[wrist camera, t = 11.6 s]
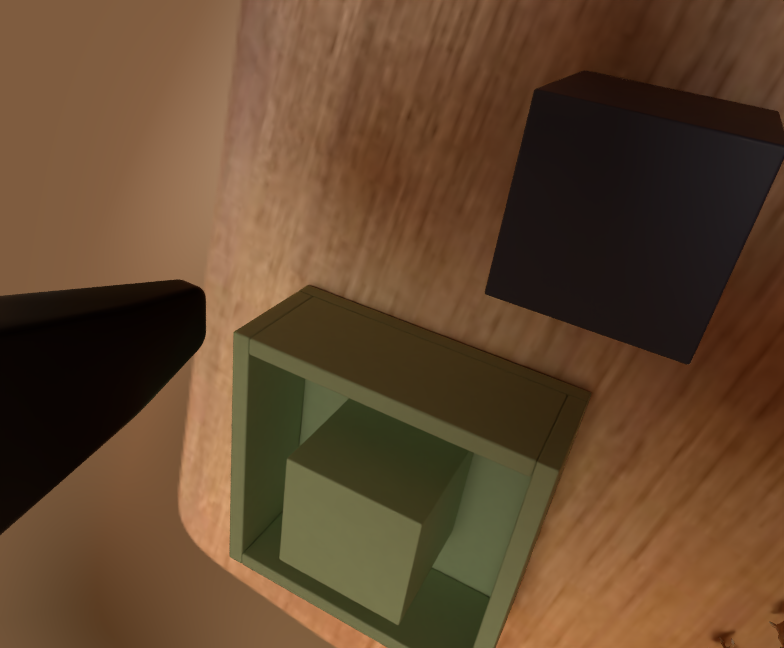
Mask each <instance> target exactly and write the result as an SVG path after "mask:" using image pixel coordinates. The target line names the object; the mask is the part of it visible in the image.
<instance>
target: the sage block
mask: <svg viewBox="0 0 784 648" xmlns="http://www.w3.org/2000/svg"><path fill="white" fill-rule="evenodd" d="M472 457H473V452H471V451H469V450H466V449H464V448H462V447H459V446H457V445H455V444H453V443H450V442H448V441H446V440H443V439H441V438H439V437H437V436H434V435H432V434H430V433H427V432H425V431H423V430H421V429H418V428H416V427H414V426H412V425H409V424H407V423H405V422H402V421H400V420H398V419H396V418H393V417H391V416H389V415H386V414H384V413H382V412H380V411H377V410H375V409H373V408H371V407H368V406H366V405H364V404H361V403H359V402H357V401H355V400H352V399H350V398H349V399H348V400H347V401H346V402H345V403H344V404H343V405H342V406H341V407H340V408H339V409H338V410H337V411H336V412H335V413H333V414H332V415H331V416H330V417H329V418H328V419H327V420H326V421H325V422H324V423H323V424H322V425H321V426H320V427H319V428H318V429H317V430H316V431H315V432H314V433H313V434H312V435H311V436H310V437H309V438H308V439H307V440H306V441H305V442H304V443H303V444H302V445H301V446H300V447H299V448H298V449H297V450H295V451H294V452H293V453H292V454H291V455H290V456H289V457H288V458H287V464H286V478H285V491H284V504H283V518H282V531H281V545H280V558H279V559H280V560H282V561H283V562H285V563H287V564H289V565H291V566H292V567H294V568H296V569H298V570H300V571H301V572H303V573H305V574H307V575H309V576H310V577H312V578H314V579H316V580H318V581H319V582H321V583H323V584H325V585H327V586H328V587H330V588H332V589H334V590H336V591H337V592H339V593H341V594H343V595H345V596H346V597H348V598H350V599H352V600H353V601H355V602H357V603H359V604H361V605H362V606H364V607H366V608H368V609H370V610H371V611H373V612H375V613H377V614H379V615H380V616H382V617H384V618H386V619H388V620H389V621H391V622H393V623H395V624H397V625H399V624H400V622H401V621H402V619H403V617H404V615H405V614H406V612H407V610H408V608H409V607H410V605H411V603H412V601H413V600H414V598H415V596H416V594H417V592H418V591H419V589H420V587H421V585H422V584H423V582H424V580H425V578H426V577H427V575H428V573H429V571H430V570H431V568H432V566H433V564H434V563H435V561H436V559H437V557H438V556H439V554H440V552H441V550H442V549H443V547H444V545H445V543H446V542H447V540H448V538H449V536H450V534H451V533H452V531H453V528H454V524H455V520H456V516H457V513H458V509H459V505H460V502H461V498H462V494H463V490H464V487H465V483H466V479H467V476H468V472H469V468H470V465H471V461H472Z"/></svg>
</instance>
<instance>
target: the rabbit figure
mask: <svg viewBox="0 0 784 648" xmlns="http://www.w3.org/2000/svg"><path fill="white" fill-rule="evenodd" d="M769 623H770V624H771V625H772V626H773V627H774V628H776V629H777V631H778V633H779V635H778V639H779V640H780V642H781V644H782V645H783V647H780V648H784V621H783V622H781V623H780V624H777V625H776V624H774V623H772V622H770V621H769ZM719 638H720V637H719ZM720 640H721V644H722V646H723V648H727V647H726V645H725V642H724V641H723V640H722V639H721V638H720ZM734 647H735V643H734V641H733V639H732V638H731V646H730V647H728V648H734Z"/></svg>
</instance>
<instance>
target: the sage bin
mask: <svg viewBox="0 0 784 648" xmlns="http://www.w3.org/2000/svg"><path fill="white" fill-rule="evenodd" d="M590 397H591V393H590V392H588V391H585V390H583V389H580V388H578V387H575V386H572V385H570V384H567V383H564V382H562V381H559V380H557V379H554V378H551V377H549V376H546V375H543V374H541V373H538V372H536V371H533V370H530V369H528V368H525V367H522V366H520V365H517V364H515V363H512V362H509V361H507V360H504V359H501V358H499V357H496V356H493V355H491V354H488V353H486V352H483V351H480V350H478V349H475V348H472V347H470V346H467V345H465V344H462V343H459V342H457V341H454V340H451V339H449V338H446V337H444V336H441V335H438V334H436V333H433V332H430V331H428V330H425V329H422V328H420V327H417V326H415V325H412V324H409V323H407V322H404V321H401V320H399V319H396V318H394V317H391V316H388V315H386V314H383V313H380V312H378V311H375V310H373V309H370V308H367V307H365V306H362V305H359V304H357V303H354V302H352V301H349V300H346V299H344V298H341V297H338V296H336V295H333V294H330V293H328V292H325V291H323V290H320V289H317V288H315V287H312V286H309V285H307V286H306V287H304V288H303V289H301V290H300V291H299V292H297V293H295V294H293V295H292V296H290V297H289V298H287V299H285V300H284V301H282V302H281V303H279V304H277V305H276V306H274V307H273V308H271V309H269V310H268V311H266V312H265V313H263V314H262V315H260V316H258V317H257V318H255V319H254V320H252V321H250V322H249V323H247V324H246V325H244V326H242V327H241V328H239V329H238V330H236V331H235V332H234V341H233V395H232V449H231V503H230V557H231V558H233V559H234V560H236V561H238V562H240V563H242V564H243V565H245V566H247V567H248V568H250V569H252V570H254V571H255V572H257V573H259V574H261V575H262V576H264V577H266V578H268V579H269V580H271V581H273V582H275V583H276V584H278V585H280V586H281V587H283V588H285V589H287V590H288V591H290V592H292V593H294V594H295V595H297V596H299V597H301V598H302V599H304V600H306V601H308V602H309V603H311V604H313V605H315V606H316V607H318V608H320V609H322V610H323V611H325V612H327V613H328V614H330V615H332V616H334V617H335V618H337V619H339V620H341V621H342V622H344V623H346V624H348V625H349V626H351V627H353V628H355V629H356V630H358V631H360V632H362V633H363V634H365V635H367V636H368V637H370V638H372V639H374V640H375V641H377V642H379V643H381V644H382V645H384V646H386V647H388V648H496V645H497V643H498V640H499V638H500V635H501V633H502V630H503V628H504V625H505V623H506V620H507V618H508V615H509V613H510V610H511V608H512V605H513V602H514V600H515V597H516V594H517V592H518V589H519V586H520V584H521V581H522V578H523V576H524V573H525V570H526V568H527V565H528V562H529V560H530V557H531V554H532V552H533V549H534V546H535V544H536V541H537V538H538V536H539V533H540V530H541V528H542V525H543V522H544V520H545V517H546V514H547V512H548V509H549V506H550V504H551V501H552V498H553V496H554V493H555V490H556V488H557V485H558V482H559V480H560V477H561V474H562V472H563V469H564V466H565V463H566V461H567V458H568V455H569V453H570V450H571V447H572V445H573V442H574V439H575V437H576V434H577V431H578V429H579V426H580V423H581V421H582V418H583V415H584V413H585V410H586V407H587V405H588V402H589V399H590ZM349 398H350V399H352V400H355V401H357V402H359V403H361V404H364V405H366V406H368V407H371V408H373V409H375V410H377V411H380V412H382V413H384V414H386V415H389V416H391V417H393V418H396V419H398V420H400V421H402V422H405V423H407V424H409V425H412V426H414V427H416V428H418V429H421V430H423V431H425V432H427V433H430V434H432V435H434V436H437V437H439V438H441V439H443V440H446V441H448V442H450V443H453V444H455V445H457V446H459V447H462V448H464V449H466V450H469V451H471V452H473V457H472V461H471V465H470V468H469V472H468V476H467V479H466V483H465V487H464V490H463V494H462V498H461V502H460V505H459V509H458V513H457V516H456V520H455V524H454V528H453V531H452V533H451V534H450V536H449V538H448V540H447V542H446V543H445V545H444V547H443V549H442V550H441V552H440V554H439V556H438V557H437V559H436V561H435V563H434V564H433V566H432V568H431V570H430V571H429V573H428V575H427V577H426V578H425V580H424V582H423V584H422V585H421V587H420V589H419V591H418V592H417V594H416V596H415V598H414V600H413V601H412V603H411V605H410V607H409V608H408V610H407V612H406V614H405V615H404V617H403V619H402V621H401V622H400V624H399V625H397V624H395V623H393V622H391V621H389V620H388V619H386V618H384V617H382V616H380V615H379V614H377V613H375V612H373V611H371V610H370V609H368V608H366V607H364V606H362V605H361V604H359V603H357V602H355V601H353V600H352V599H350V598H348V597H346V596H345V595H343V594H341V593H339V592H337V591H336V590H334V589H332V588H330V587H328V586H327V585H325V584H323V583H321V582H319V581H318V580H316V579H314V578H312V577H310V576H309V575H307V574H305V573H303V572H301V571H300V570H298V569H296V568H294V567H292V566H291V565H289V564H287V563H285V562H283V561H282V560H280V559H279V558H280V545H281V531H282V518H283V504H284V491H285V478H286V464H287V458H288V457H289V456H290V455H291V454H292V453H293V452H294V451H295V450H297V449H298V448H299V447H300V446H301V445H302V444H303V443H304V442H305V441H306V440H307V439H308V438H309V437H310V436H311V435H312V434H313V433H314V432H315V431H316V430H317V429H318V428H319V427H320V426H321V425H322V424H323V423H324V422H325V421H326V420H327V419H328V418H329V417H330V416H331V415H332V414H333V413H335V412H336V411H337V410H338V409H339V408H340V407H341V406H342V405H343V404H344V403H345V402H346V401H347V400H348V399H349Z"/></svg>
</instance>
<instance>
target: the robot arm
mask: <svg viewBox="0 0 784 648" xmlns="http://www.w3.org/2000/svg"><path fill="white" fill-rule="evenodd" d="M205 335H206V296H205V293H204V291H203V290H202V289H201V288H200V287H198V286H196V285H193V284H191V283H189V282H186V281H183V280H167V281H156V282H146V283H135V284H124V285H113V286H103V287H92V288H81V289H70V290H60V291H48V292H39V293H27V294H16V295H5V296H0V535H1V534H2V533H3V532H4V531H5V530H7V529H8V528H9V527H10V526H11V525H12V524H13V523H15V522H16V521H17V520H18V519H19V518H20V517H21V516H23V515H24V514H25V513H26V512H27V511H28V510H29V509H30V508H32V507H33V506H34V505H35V504H36V503H37V502H38V501H40V500H41V499H42V498H43V497H44V496H45V495H46V494H48V493H49V492H50V491H51V490H52V489H53V488H54V487H56V486H57V485H58V484H59V483H60V482H61V481H62V480H64V479H65V478H66V477H67V476H68V475H69V474H70V473H72V472H73V471H74V470H75V469H76V468H77V467H78V466H80V465H81V464H82V463H83V462H84V461H85V460H86V459H87V458H89V456H91V455H92V454H93V453H94V452H95V451H97V450H98V449H99V448H100V447H101V446H102V445H103V444H104V443H106V442H107V441H108V440H109V439H110V438H111V437H113V436H114V435H115V434H116V433H117V432H118V431H119V430H120V429H122V428H123V427H124V426H125V425H126V424H127V423H128V422H129V421H131V420H132V419H133V418H134V417H135V416H136V415H137V414H138V413H139V412H140V411H141V410H142V409H143V408H144V407H145V406H146V405H147V404H148V403H149V402H150V401H151V400H152V399H153V398H154V397H155V396H156V394H157V393H158V392H159V391H160V390H161V389H162V388H163V387H164V386H165V385H166V384H167V383H168V382H169V380H170V379H171V378H172V377H173V376H174V375H175V374H176V373H177V372H178V371H179V370H180V369H181V368H182V366H183V365H184V364H185V363H186V362H187V361H188V360H189V359H190V358H191V357H192V356H193V355H194V354H195V353H196V352H197V350H198V349H199V348H200V347H201V345H202V344H203V341H204V339H205Z"/></svg>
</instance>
